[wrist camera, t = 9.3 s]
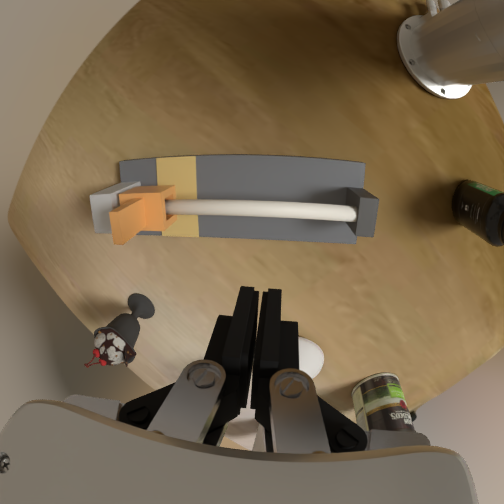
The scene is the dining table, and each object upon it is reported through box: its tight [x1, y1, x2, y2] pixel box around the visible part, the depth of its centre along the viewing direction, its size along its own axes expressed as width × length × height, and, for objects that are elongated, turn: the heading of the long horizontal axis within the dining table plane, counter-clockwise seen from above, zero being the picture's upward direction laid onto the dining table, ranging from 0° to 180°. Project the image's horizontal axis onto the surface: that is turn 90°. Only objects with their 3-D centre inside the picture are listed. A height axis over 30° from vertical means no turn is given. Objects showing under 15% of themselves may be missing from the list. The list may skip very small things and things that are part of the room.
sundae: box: [84, 294, 155, 368], centre depth 34 cm, size 7×7×15 cm
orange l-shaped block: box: [109, 185, 177, 245], centre depth 26 cm, size 5×4×9 cm
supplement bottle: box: [452, 180, 504, 247], centre depth 24 cm, size 7×7×12 cm
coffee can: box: [351, 373, 416, 432], centre depth 39 cm, size 10×10×14 cm
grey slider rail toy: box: [90, 154, 379, 244], centre depth 29 cm, size 30×10×8 cm, turn 89°
